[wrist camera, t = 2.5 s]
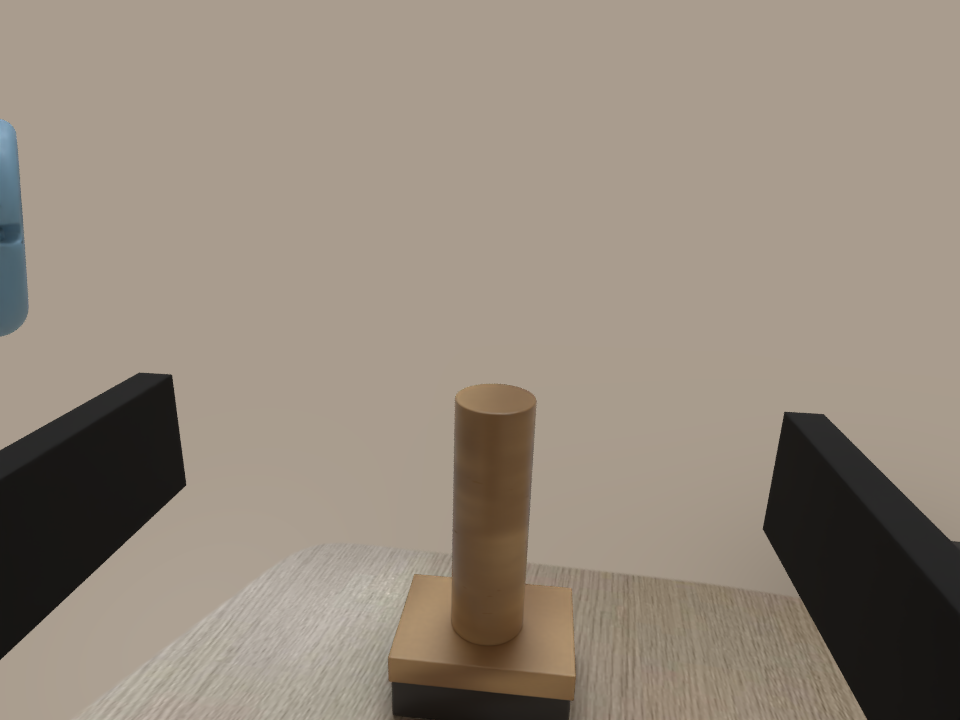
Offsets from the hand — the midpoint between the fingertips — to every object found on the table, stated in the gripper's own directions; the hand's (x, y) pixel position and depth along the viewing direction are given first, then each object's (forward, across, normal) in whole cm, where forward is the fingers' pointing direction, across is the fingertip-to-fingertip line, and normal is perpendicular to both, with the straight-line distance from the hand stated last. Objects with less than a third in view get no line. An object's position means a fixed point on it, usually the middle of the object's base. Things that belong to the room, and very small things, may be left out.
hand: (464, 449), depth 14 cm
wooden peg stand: (+10, 0, -16) cm, 18 cm away
